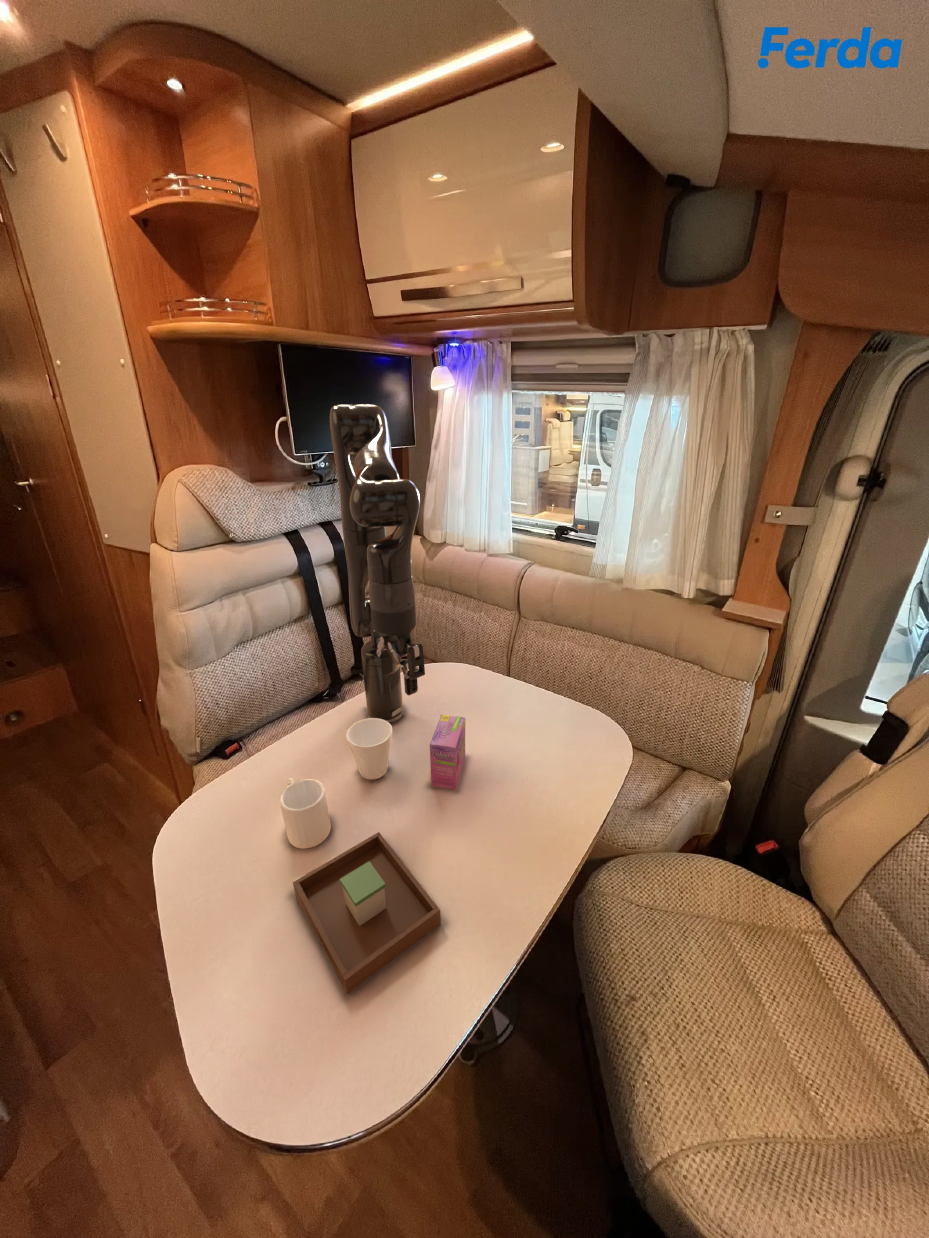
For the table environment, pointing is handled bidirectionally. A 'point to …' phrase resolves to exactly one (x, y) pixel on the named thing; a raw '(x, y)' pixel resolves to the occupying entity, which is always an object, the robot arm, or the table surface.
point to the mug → (305, 812)
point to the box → (447, 752)
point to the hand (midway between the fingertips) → (398, 682)
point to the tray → (383, 934)
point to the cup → (370, 746)
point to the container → (364, 893)
